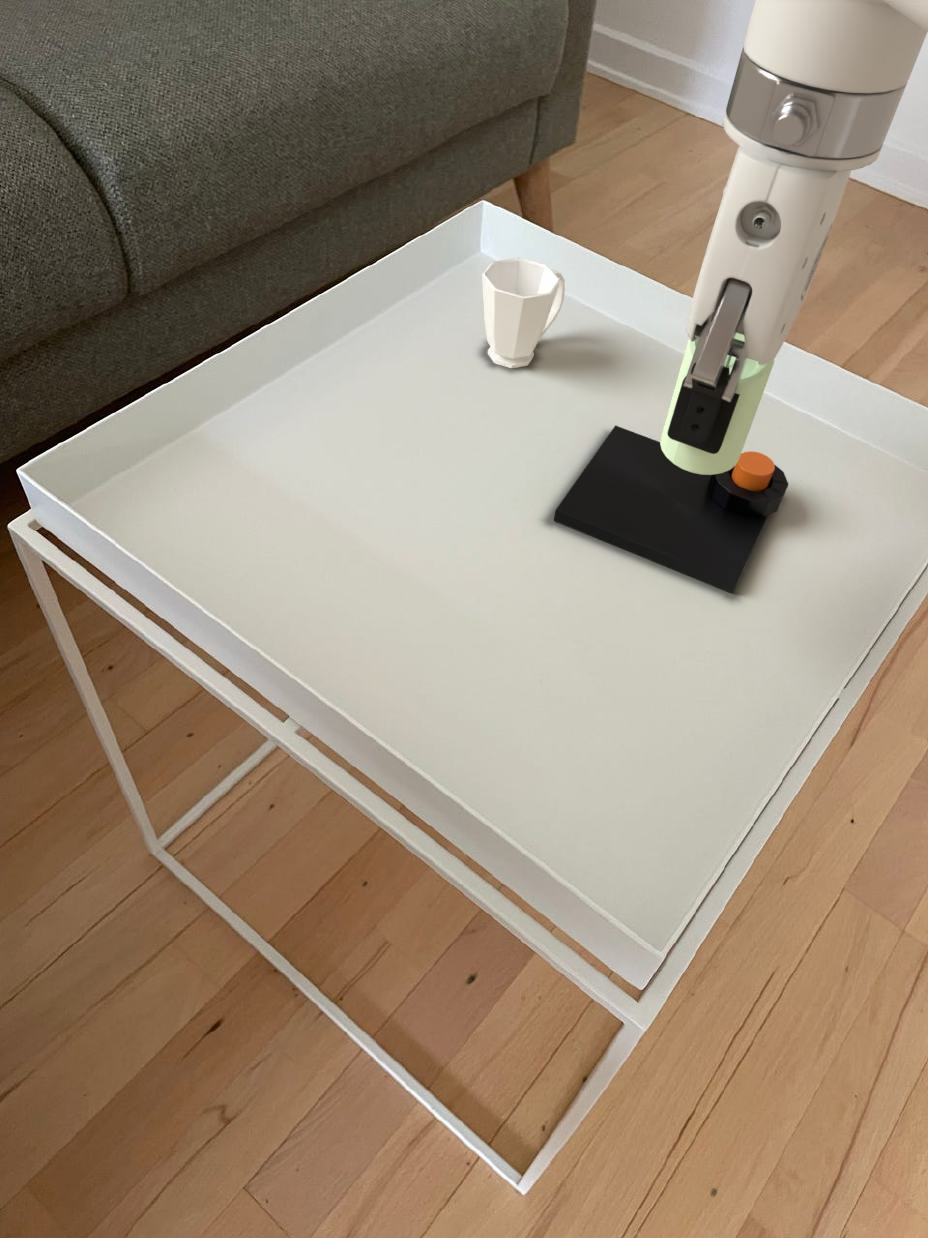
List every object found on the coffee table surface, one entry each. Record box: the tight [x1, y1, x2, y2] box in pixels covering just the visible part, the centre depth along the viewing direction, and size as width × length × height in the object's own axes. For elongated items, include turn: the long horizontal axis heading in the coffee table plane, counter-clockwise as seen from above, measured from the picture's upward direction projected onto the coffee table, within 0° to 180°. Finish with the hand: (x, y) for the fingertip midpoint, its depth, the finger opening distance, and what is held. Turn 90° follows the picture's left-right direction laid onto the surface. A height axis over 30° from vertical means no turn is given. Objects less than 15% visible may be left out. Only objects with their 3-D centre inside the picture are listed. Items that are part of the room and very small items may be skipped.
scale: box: [553, 424, 789, 594], centre depth 79 cm, size 16×13×3 cm
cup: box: [481, 257, 566, 369], centre depth 91 cm, size 7×10×8 cm
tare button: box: [732, 450, 776, 491], centre depth 79 cm, size 3×3×2 cm
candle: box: [659, 333, 775, 475], centre depth 59 cm, size 5×5×8 cm
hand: (706, 419), depth 59 cm, fingers closed on candle, 4 cm apart
